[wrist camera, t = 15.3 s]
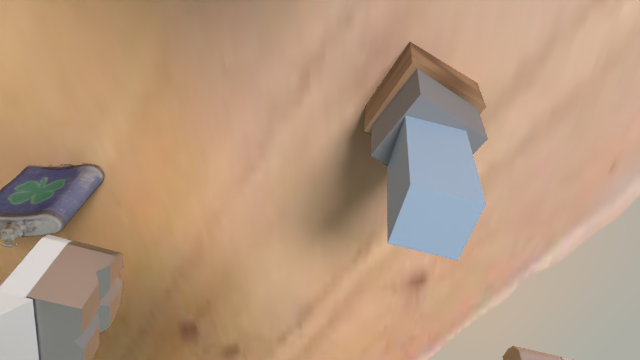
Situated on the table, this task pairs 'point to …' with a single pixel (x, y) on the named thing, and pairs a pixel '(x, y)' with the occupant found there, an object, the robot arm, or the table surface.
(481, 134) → the tower middle
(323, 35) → the table surface
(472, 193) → the pillar
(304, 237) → the table surface
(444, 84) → the tower base
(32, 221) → the flask
